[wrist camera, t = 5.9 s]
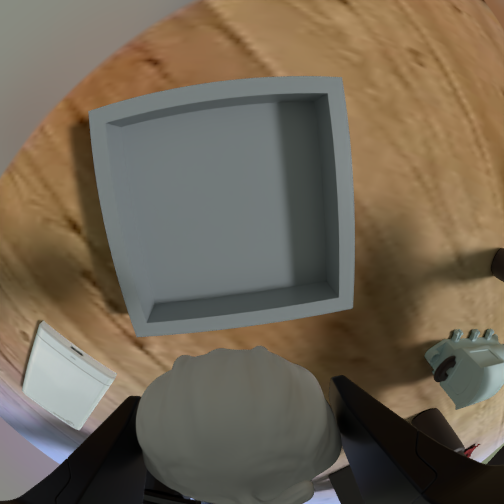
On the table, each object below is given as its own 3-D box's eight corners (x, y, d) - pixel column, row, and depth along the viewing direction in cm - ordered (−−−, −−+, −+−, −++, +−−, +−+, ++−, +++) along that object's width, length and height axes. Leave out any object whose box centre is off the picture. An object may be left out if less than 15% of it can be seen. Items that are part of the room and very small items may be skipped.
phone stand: (328, 474, 30) (347, 539, 19) (365, 456, 30) (391, 521, 18) (347, 485, 33) (366, 539, 22) (379, 469, 33) (402, 522, 21)
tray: (147, 314, 20) (136, 337, 17) (108, 117, 15) (88, 111, 12) (337, 288, 20) (352, 308, 17) (324, 88, 16) (341, 77, 13)
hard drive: (79, 432, 23) (113, 382, 20) (20, 391, 21) (37, 326, 18) (83, 422, 24) (119, 370, 22) (26, 382, 22) (45, 316, 20)
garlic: (319, 299, 8) (399, 443, 3) (319, 410, 10) (354, 519, 5) (125, 325, 8) (62, 465, 3) (174, 427, 10) (162, 536, 5)
